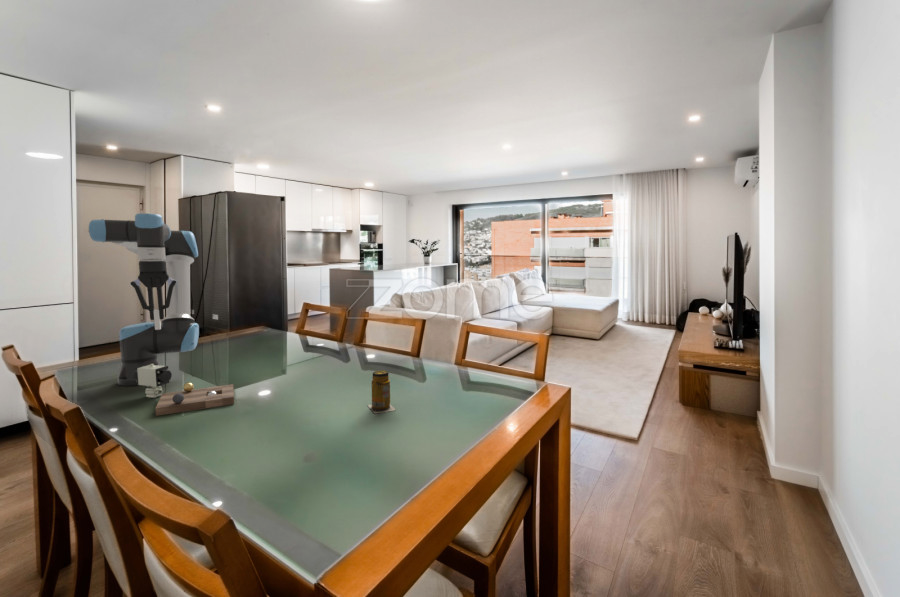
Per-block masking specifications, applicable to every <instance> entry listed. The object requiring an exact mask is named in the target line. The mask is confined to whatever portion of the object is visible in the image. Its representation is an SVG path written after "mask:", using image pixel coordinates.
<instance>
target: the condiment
mask: <svg viewBox="0 0 900 597" xmlns="http://www.w3.org/2000/svg"><path fill="white" fill-rule="evenodd" d="M389 378H390V377H389V371H387V370H383V369H382V370H375V371H373V373H372V380H371V404H368V405H367V406H368V408H369V409H370V410H371V412H372V413H373V414H382V413H389V412H393V411H396V408H395V407H394V406H392V405H391V380H390V379H389Z"/></svg>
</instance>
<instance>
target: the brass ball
mask: <svg viewBox="0 0 900 597" xmlns="http://www.w3.org/2000/svg"><path fill="white" fill-rule="evenodd" d="M194 386H195V385H194V384H193V383H192V382H186V383H184V385H183V387H182V389H183V391H186V392H190V391H192V390H193V389H195V387H194Z"/></svg>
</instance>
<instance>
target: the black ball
mask: <svg viewBox="0 0 900 597" xmlns="http://www.w3.org/2000/svg"><path fill="white" fill-rule="evenodd" d="M172 400H173V402H174V403H181V402H182V401H183V400H184V396H183V394H181V393H177V394H175V395H174V396H173V398H172Z"/></svg>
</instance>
